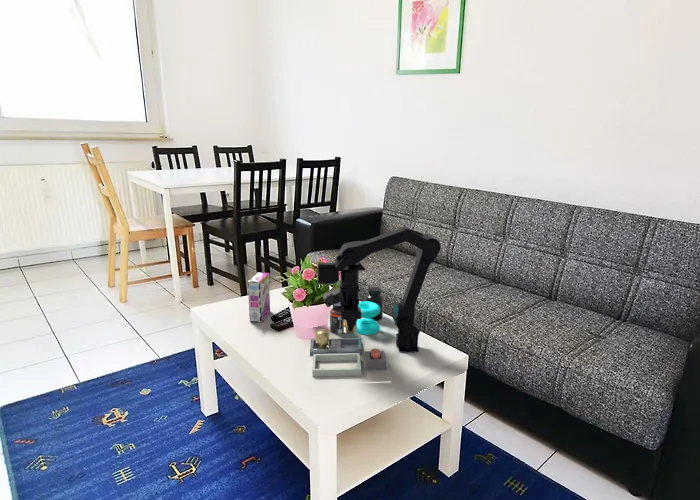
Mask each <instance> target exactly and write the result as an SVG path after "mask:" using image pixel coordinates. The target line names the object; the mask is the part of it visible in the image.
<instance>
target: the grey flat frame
mask: <svg viewBox="0 0 700 500" xmlns="http://www.w3.org/2000/svg"><path fill="white" fill-rule="evenodd" d="M343 353H359V355H360V356H363V347H362V338H361V337H353V338H350V337H349V338H347V337H346V338H345V337H344V338H329V349H316V338H311V339H310V348H309V357H313V354H343Z"/></svg>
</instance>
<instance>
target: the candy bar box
mask: <svg viewBox="0 0 700 500" xmlns="http://www.w3.org/2000/svg"><path fill="white" fill-rule="evenodd" d="M247 290H248V291H247V292H248V295H247V297H248V310H249V311H248V313H249V314H248V315H249V316H248V317H249V322H250V321H252V322H251V323H258V322H261V323H262V322H263V321H264V320H265V318H266V317H267V316H268V315H269V313H271V301H270V300H271V298H270V296H271V295H270V272H258V271H257V272H256V274H254V275H253V276H252V277H251V278H250V279H249V280H248V281H247ZM263 319H264V320H263Z"/></svg>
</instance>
